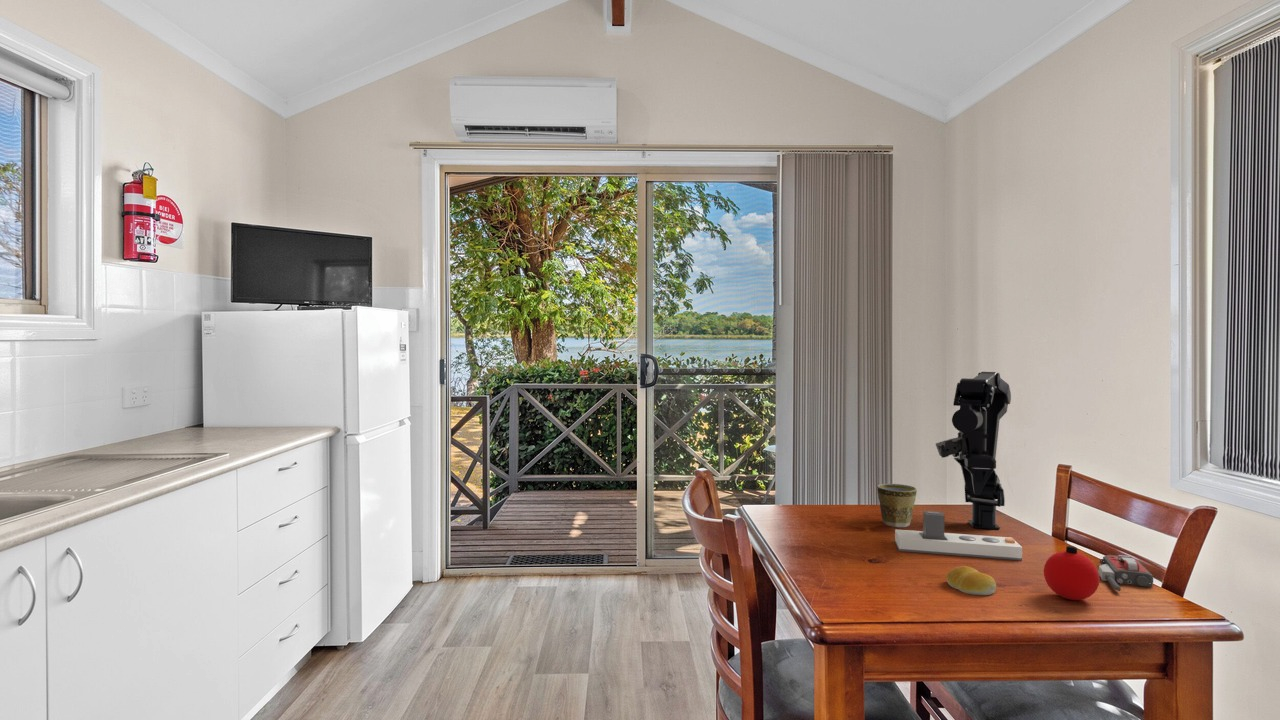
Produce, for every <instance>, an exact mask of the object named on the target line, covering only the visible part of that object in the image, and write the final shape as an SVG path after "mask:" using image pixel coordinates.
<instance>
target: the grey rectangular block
mask: <svg viewBox="0 0 1280 720" xmlns="http://www.w3.org/2000/svg"><path fill="white" fill-rule="evenodd" d="M922 513H923V516H922V517H923V519H922V522H923V524H922V531H923V539H935V540H944V533H945V515H944V513H943V512H942V511H935V510H934V511H933V510H923V512H922Z"/></svg>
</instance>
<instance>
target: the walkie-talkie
mask: <svg viewBox="0 0 1280 720" xmlns="http://www.w3.org/2000/svg"><path fill="white" fill-rule="evenodd" d="M1101 560H1102V561H1101ZM1103 561H1104V562H1103ZM1099 563H1100V565H1098V573H1099V578H1100V580H1101V581H1102V582H1108V583H1109V585H1111V586H1112V587H1113V589H1114V590H1115V591H1118V592H1120V591H1121V589H1122V588H1121V587H1120V585H1121V584H1122V585H1129V584H1132V585H1131V586H1137V585H1138V586H1137V587H1146V588H1153V586H1154V585H1152V584H1154V575H1153V574H1152V573H1151V572H1150V571H1149V570H1148V569H1147V568H1146V567H1145V565H1143V564H1142V563H1141V562H1140V561H1139V560H1137V559H1136V558H1134V557H1132V556H1130V555H1124V554H1123V555H1122V554H1118V555H1113V554H1107V555H1104V556H1103V557H1102V558H1100V560H1099ZM1119 583H1120V585H1119ZM1149 583H1151V584H1149Z"/></svg>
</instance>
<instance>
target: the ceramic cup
mask: <svg viewBox="0 0 1280 720" xmlns="http://www.w3.org/2000/svg"><path fill="white" fill-rule="evenodd" d="M876 487H877V489H876V490H877V496H878V500H879V507H880V513H881V518H882V519H881V520H882V523H883V524H884V525H886V526H888V527H893V528H906V527H909V526H910V525H911V522H912V521H911V520H912V517H913V511H914V507H915V502H916V498H917V491H918V488H917V487H914V486H911V485H907V484H902V483H901V484H900V483H881V484H878V485H877V486H876Z"/></svg>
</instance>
